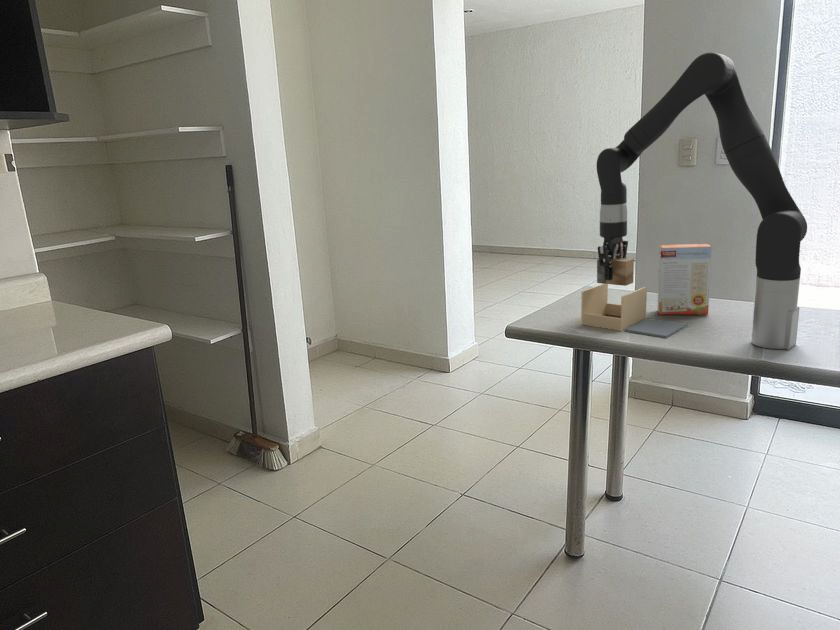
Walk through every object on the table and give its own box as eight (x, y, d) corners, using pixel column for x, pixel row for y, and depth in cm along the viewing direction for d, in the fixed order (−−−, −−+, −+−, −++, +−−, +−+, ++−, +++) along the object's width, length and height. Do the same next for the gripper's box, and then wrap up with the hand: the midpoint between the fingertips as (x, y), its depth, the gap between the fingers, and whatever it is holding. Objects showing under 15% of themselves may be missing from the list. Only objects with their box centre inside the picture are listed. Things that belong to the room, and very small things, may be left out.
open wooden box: (645, 319, 181) (646, 286, 178) (622, 331, 171) (623, 296, 168) (605, 313, 190) (606, 282, 187) (581, 324, 180) (581, 291, 177)
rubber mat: (687, 325, 172) (687, 323, 172) (666, 338, 162) (666, 335, 162) (646, 319, 180) (646, 318, 180) (624, 331, 171) (624, 329, 171)
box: (633, 282, 176) (633, 258, 174) (625, 285, 172) (626, 261, 171) (604, 280, 182) (604, 257, 180) (597, 283, 179) (597, 259, 177)
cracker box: (705, 310, 186) (709, 243, 181) (708, 315, 181) (712, 246, 175) (656, 310, 190) (659, 244, 185) (658, 315, 185) (661, 247, 179)
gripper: (613, 223, 166) (612, 284, 170) (637, 217, 175) (636, 275, 180) (588, 222, 171) (588, 281, 175) (613, 216, 181) (612, 273, 185)
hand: (612, 278), depth 177 cm, fingers closed on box, 4 cm apart
